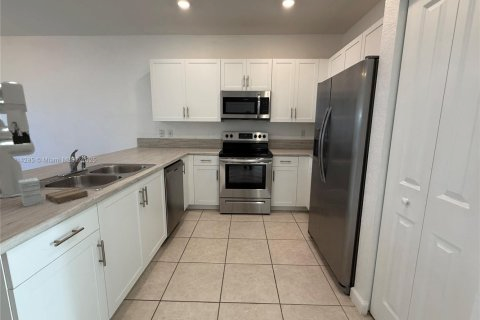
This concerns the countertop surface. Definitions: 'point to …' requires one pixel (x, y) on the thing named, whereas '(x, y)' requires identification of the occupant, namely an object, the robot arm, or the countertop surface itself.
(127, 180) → the countertop surface
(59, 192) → the block
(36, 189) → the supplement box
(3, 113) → the robot arm
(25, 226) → the countertop surface
